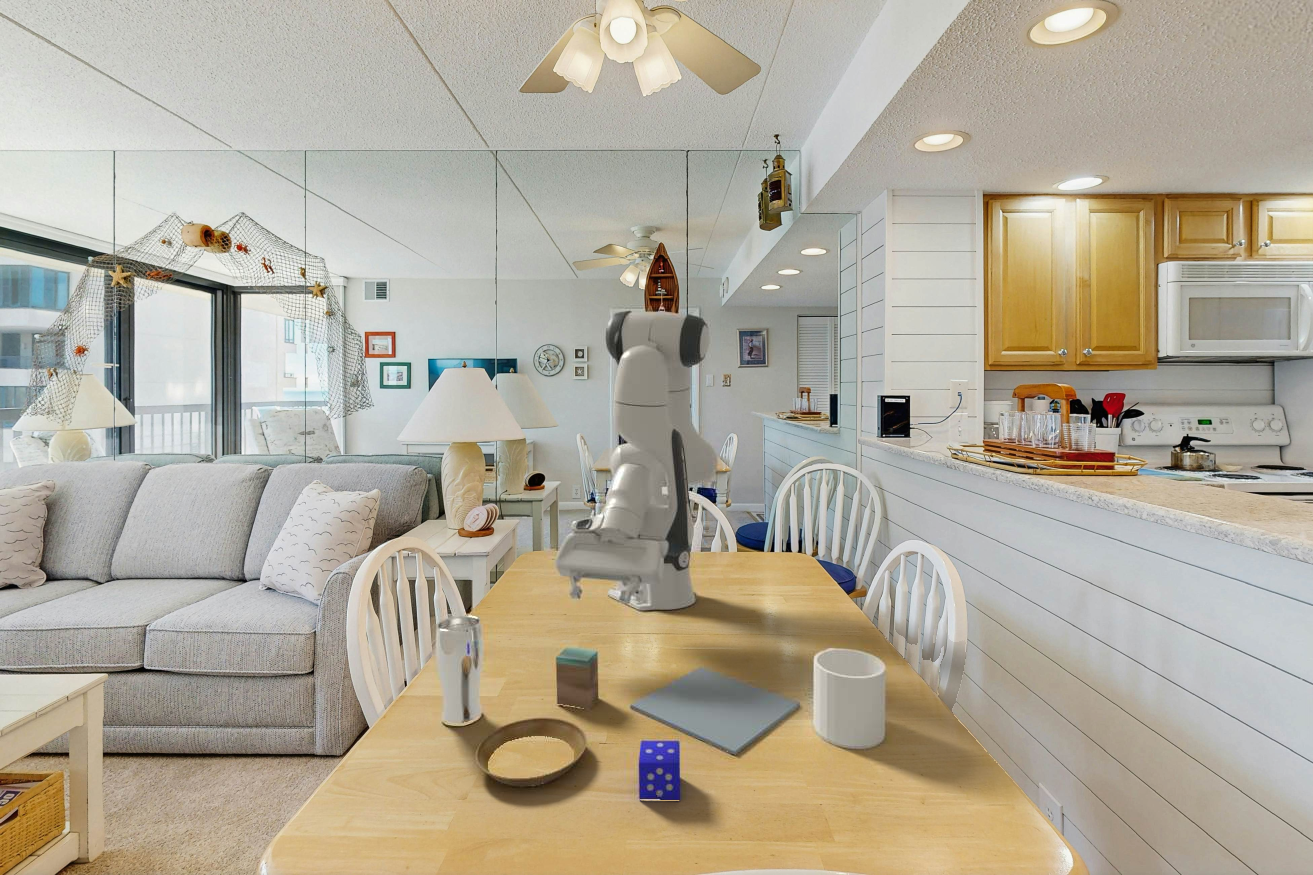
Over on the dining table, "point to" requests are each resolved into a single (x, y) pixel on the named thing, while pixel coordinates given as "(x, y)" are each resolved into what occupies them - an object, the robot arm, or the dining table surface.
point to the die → (659, 770)
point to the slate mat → (716, 709)
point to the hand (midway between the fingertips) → (598, 599)
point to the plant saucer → (530, 728)
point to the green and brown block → (577, 677)
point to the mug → (849, 698)
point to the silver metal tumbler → (460, 666)
